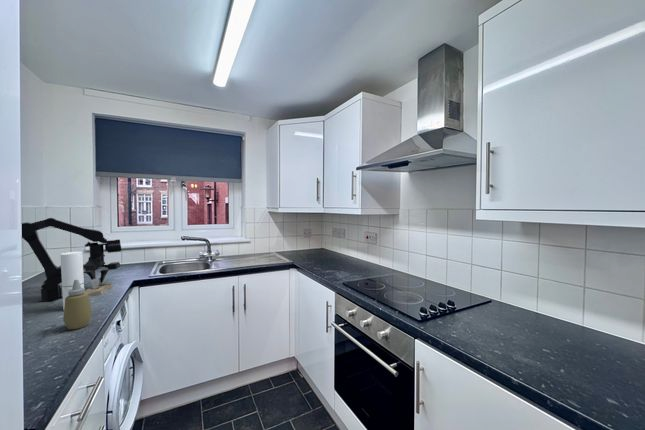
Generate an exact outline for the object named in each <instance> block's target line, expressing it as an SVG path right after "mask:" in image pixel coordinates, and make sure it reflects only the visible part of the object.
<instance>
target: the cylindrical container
mask: <svg viewBox="0 0 645 430" xmlns="http://www.w3.org/2000/svg"><path fill="white" fill-rule="evenodd" d="M83 257H84V256H83V251H67V252H63V253H60V266H61V275H62V282H61V294H62V296H63V298H62V307H63V311H64V307H65V298H66V297H67V296H69V295H68V291H69V290H71V289H72V288H73V283H74V280H79V283H80V286H81V288H85V279H84V278H85V277H84V270H83V264H84V260H83Z"/></svg>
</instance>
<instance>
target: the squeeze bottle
mask: <svg viewBox="0 0 645 430" xmlns="http://www.w3.org/2000/svg"><path fill="white" fill-rule="evenodd" d="M85 290H86V288H85V287H84V288H81V286H80V283H79V280H74V283H73V288H72V289H71V290H69V291H68V295H69V296H67V297H66V298H65V307H64V310H63V323H64V324H65V326H66V328H67V329H68V330H78V329H81V328H84V327H86V326H89V323H90V320H91V317H92V314H93V313H92V306H91V301H90V296H89V295H88V294H87V293H85Z"/></svg>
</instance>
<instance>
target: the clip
mask: <svg viewBox="0 0 645 430" xmlns="http://www.w3.org/2000/svg"><path fill="white" fill-rule="evenodd" d="M105 279H106V277H105V278H104V281H103V282H102V283H101V275H97V276H95V278H93V279H91V278H90V285H92V286H91V287H92V289H99V286H103V285H104V283H105Z"/></svg>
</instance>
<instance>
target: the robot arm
mask: <svg viewBox="0 0 645 430" xmlns="http://www.w3.org/2000/svg"><path fill="white" fill-rule="evenodd" d="M21 224H22V237H21V239H23V240H24V241H25V242H26V243H27V244H28V245H29V247H30V249H32V250H31V251H33V253H34V255H35V256H36V258H37V260H38V261H39V263H40V265H41V266H42V269H44V270H43V271H44V274H45V277H46V279H45V280H44V281H42V284H41V288H40V294H41V295H40V296H41V299H40V300H38V303H41V302H42V303H43V302H45V303H49V302H55V301H57V300H59V299H63V295H62V287H61V285H60V284H62V275H61V265H58V266H57V265H56V264H55V263H54V261H53V259H52V258H51V256H50V255H49V253H48V251H47V250H46V248H45V247H44V245H43V242H42V241H41V239H40V236H39V232H38V231H39V230H42V229H45V228H49V227H50V228H51V227H52V228H55V229H59V230H62V231H66V232H67V233H68V232H69V233H73V234H75V235H79V236H81V237H83V238H85V239H86V240H89V241H87V242H86V243H85V244H84V247H89V257H88V261H86V263H83V274H87V275H88V277H89V278H90V280H91V279H93V278H95V277H96V271H97V270H99V269H100V276H101V283H102V282H103V281H104V282H105V280H104V278H105V279H106V275H107V274H108V273H109V271H110V270H111V271H113V270H117V269H119V268H120V267H121V263H120V262H119V261H114V262H110V263H107V264H106V262H105V256H106V254H105V252H107V253H108V254H109V253H110V254H111V253H118V252H119V253H120V252H122V245H121V239H112V240H108V239H107V238H105V237H104V233H103V232H102V231H100V230H98V229H92V228H86V227H81V226H77V225H74V224H71V223H67V222H65V221H61V220H58V219H55V218H54V217H49V218H46V219H43V220H39V221H35V222H27V221H26V222H22V223H21ZM90 241H92V242H90Z"/></svg>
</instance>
